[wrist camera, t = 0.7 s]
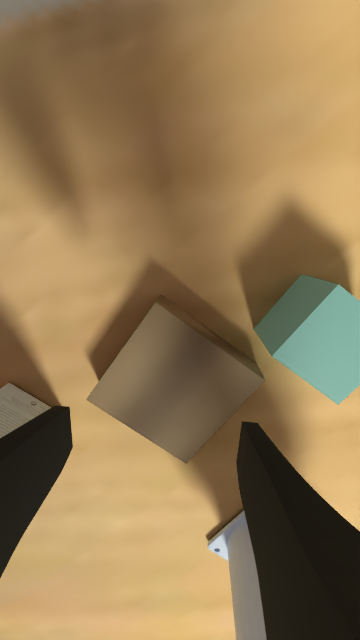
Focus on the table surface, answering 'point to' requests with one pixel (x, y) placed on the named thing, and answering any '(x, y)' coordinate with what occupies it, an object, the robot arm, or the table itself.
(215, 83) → the table surface
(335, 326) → the teal block
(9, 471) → the robot arm
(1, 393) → the small box
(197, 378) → the walnut slab
